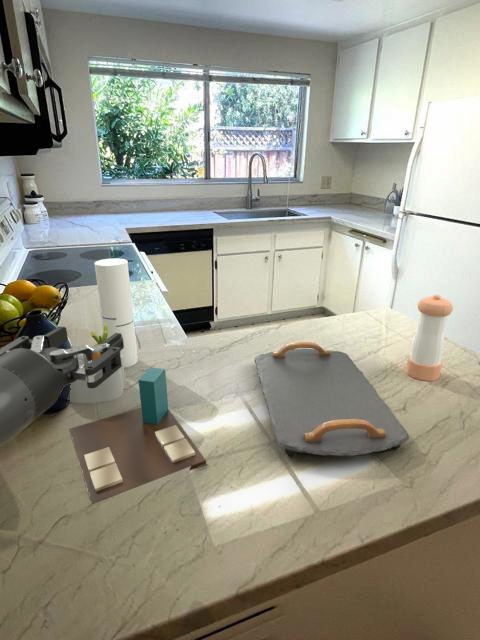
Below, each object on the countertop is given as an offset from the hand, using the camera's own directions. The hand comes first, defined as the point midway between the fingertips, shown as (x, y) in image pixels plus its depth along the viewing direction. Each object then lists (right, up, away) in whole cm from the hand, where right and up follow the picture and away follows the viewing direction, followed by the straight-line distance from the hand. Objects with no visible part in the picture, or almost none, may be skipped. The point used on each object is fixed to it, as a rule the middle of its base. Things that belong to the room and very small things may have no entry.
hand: (91, 336), depth 55 cm
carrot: (-7, -13, +30) cm, 34 cm away
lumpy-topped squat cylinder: (-11, -13, +31) cm, 35 cm away
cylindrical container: (-9, -8, +44) cm, 46 cm away
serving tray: (+37, -15, +28) cm, 48 cm away
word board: (+2, -20, +14) cm, 24 cm away
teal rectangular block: (+4, -16, +21) cm, 27 cm away
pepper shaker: (+63, -10, +39) cm, 75 cm away
